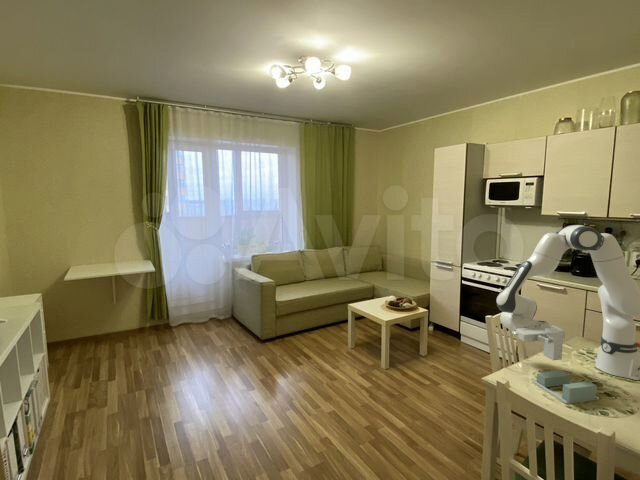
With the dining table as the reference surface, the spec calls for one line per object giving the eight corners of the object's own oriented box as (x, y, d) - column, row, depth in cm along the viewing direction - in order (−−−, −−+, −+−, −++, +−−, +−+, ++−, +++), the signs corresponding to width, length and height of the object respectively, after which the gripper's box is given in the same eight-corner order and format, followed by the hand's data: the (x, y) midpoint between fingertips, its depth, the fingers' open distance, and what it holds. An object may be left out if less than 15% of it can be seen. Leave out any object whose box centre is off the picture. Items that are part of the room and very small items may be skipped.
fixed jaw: (563, 379, 148) (563, 365, 147) (599, 399, 132) (600, 384, 132) (532, 382, 145) (533, 369, 145) (565, 404, 130) (566, 389, 129)
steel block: (551, 354, 147) (553, 327, 146) (561, 359, 142) (563, 331, 141) (543, 355, 146) (544, 328, 145) (553, 360, 141) (554, 332, 140)
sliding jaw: (560, 379, 147) (561, 370, 147) (569, 384, 143) (569, 375, 143) (536, 382, 145) (537, 373, 145) (544, 387, 141) (544, 378, 141)
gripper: (509, 324, 154) (533, 335, 140) (549, 320, 157) (576, 331, 144) (509, 337, 155) (532, 350, 141) (548, 334, 158) (575, 346, 144)
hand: (555, 341), depth 143 cm, fingers closed on steel block, 4 cm apart
